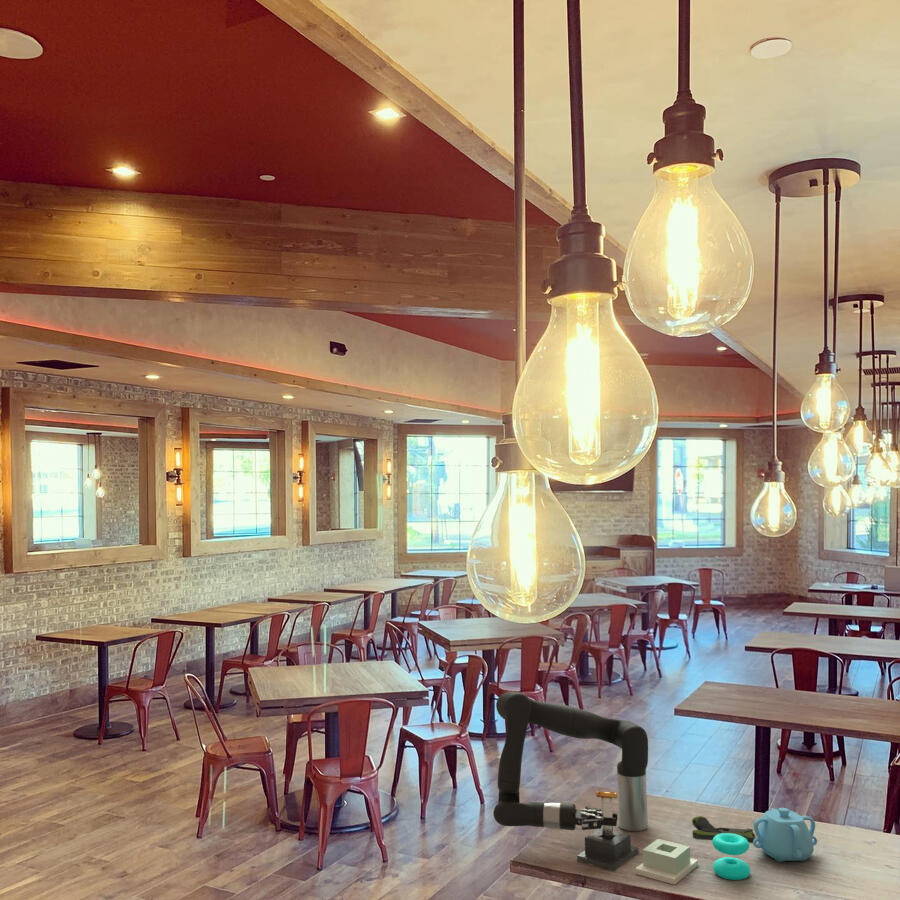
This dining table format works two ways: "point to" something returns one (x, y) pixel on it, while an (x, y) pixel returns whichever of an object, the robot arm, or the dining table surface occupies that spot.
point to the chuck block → (607, 850)
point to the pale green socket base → (666, 861)
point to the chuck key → (607, 811)
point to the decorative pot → (785, 835)
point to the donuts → (730, 865)
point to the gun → (717, 830)
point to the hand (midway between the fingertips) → (616, 819)
